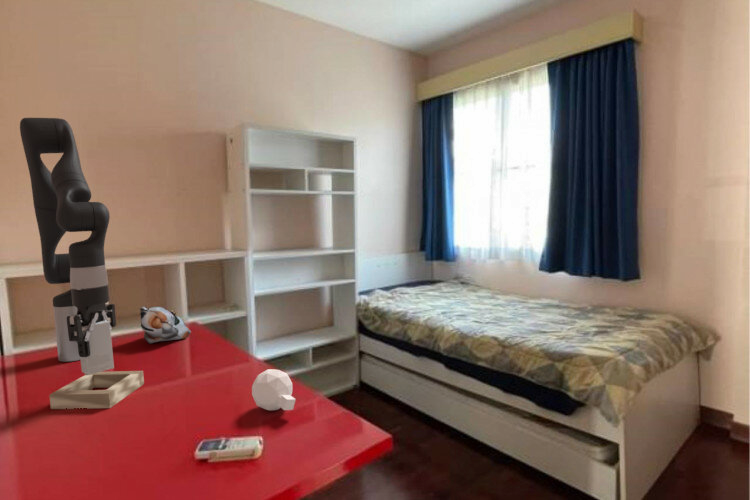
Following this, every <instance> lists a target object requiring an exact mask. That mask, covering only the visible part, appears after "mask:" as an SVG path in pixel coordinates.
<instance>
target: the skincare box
mask: <svg viewBox="0 0 750 500" xmlns="http://www.w3.org/2000/svg"><path fill="white" fill-rule="evenodd" d="M87 327H88V326H83V325H82V329H83V328H87ZM82 334H83V336H84V334H85V331H82ZM111 334H112V333H111V331H110V323H109V321H100V322H98V323H95V326H94V329H93V331H92V332H91V333H90V336H89V339H88V341H89V345H90V356H88V357H80V360H79V361H80V367H81V368H80V369H81V372H82V374H84V375H91V374H94V373H98V372H106V371H108V370H112V369H115V366H114V365H115V364H114V363H115V362H114V356H113V355H114V354H113V345H112V342H113V341H112V336H111Z"/></svg>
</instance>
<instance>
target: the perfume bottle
mask: <svg viewBox="0 0 750 500" xmlns="http://www.w3.org/2000/svg"><path fill="white" fill-rule="evenodd" d="M293 385H294V384H293V382H292V380H291V378H290V376H289V374H288V373H286V372H284V371H282V370H280V369H274V368H272V369H271V368H270V369H269V368H268V369H266V370H264V371H262V372H261V373H259V374H257V376H256V378H255V380H254V382H253V383H252V386H251V395H252V396H251V397H252V398H253V400H254V403H255V404H256V406H257V407H259V408H261V409H264V410H267V411H278V410H279V409H282V410H283V411H292V410H294V407H295V404H296V401H297V400H296V398H295V397H294V396H292V394H293Z"/></svg>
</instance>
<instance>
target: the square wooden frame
mask: <svg viewBox="0 0 750 500" xmlns="http://www.w3.org/2000/svg"><path fill="white" fill-rule="evenodd" d="M144 384H145V378H144V370H124V371H123V370H121V371H120V370H119V371H115V370H114V371H102V372H98V373H94V374H91V375H86V374H84V375H83V376H81V377H79V378H77V379H76V380H73V381H71V382H69V383H68V384H66V385H65V386H63V387H61V388H59V389H57V390H55V391H53V392H51V393H50V394H49V403H50V404H49V406H50V410H76V409H77V408H79V410H80V408H82V409H83V408H87V409H112V407H114V406H115V405H117V404H118V403H120V402H121V401H122V400H124V399H125V398H126V397H128V396H129V395H131V394H132V393H133V392H135V391H136V390H138V389H139V388H141V387H142V386H143V385H144ZM97 388H99V389H97ZM100 388H101V389H100ZM102 388H103V389H102ZM104 388H107V389H104ZM93 389H95V390H93ZM96 389H97V390H96ZM66 408H67V409H66ZM74 408H76V409H74Z"/></svg>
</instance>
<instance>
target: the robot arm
mask: <svg viewBox="0 0 750 500" xmlns="http://www.w3.org/2000/svg"><path fill="white" fill-rule="evenodd" d="M19 131H20V138H21V143H22V146H23V151H24V155H25V160H26V164H27V167H28V171H29V172H28V173H29V177H30V184H31V193H32V194H31V195H32V200H33V209H34V215H35V217H36V218H35V219H36V223H37V228H38V232H39V237H40V247H41V248H40V249H41V259H42V269H43V275H44V279H45V281H46V282H47V283H48V284H49V285H50V284H51V285H60V284H68V283H69V284H70V289H68V290H67V291H65V292H62V293H60V294H57V295H55V296H53V298H52V306H53V307H52V309H53V316H54V317H53V318H54V328H55V329H54V330H55V339H56V346H57V358H58V361H59V362H64V363H65V362H75V361H81V360H80V357H88V356H90V345H89V341H88V339H89V336H90V333H91V332H92V331H93V329H94V326H95V323H98V322H100V321H109V323H110V332H112V330H113V328H114V327H115V328H116V326H117V319H116V305H115V304H114V303H109V302H110V291H109V278H108V272H107V267H106V261H105V240H106V236H107V232H108V231H107V230H108V227H109V223H110V218H111V217H110V211H109V209H108V208H107V206H106V205H105V204H104V203H103V202H99V201H90V200H92V192H91V189H90V187H89V184H88V181H87V179H86V178H85V176H84V172H83V170H82V166H81V165H82V164H81V160H80V155H79V152H78V151H79V149H78V147H77V146H78V145H77V143H76V139H75V135H74V133H73V129H72V127H71V125H70V123H69V122H68V121H67V120H65V119H63V118H57V117H24V118H22V119H21V120H20V123H19ZM42 154H62V155H61V157H60V159H59V160H58V161H57V162H56V164H55V165H54V167H53V168H52V171H50V170H49V169H48V167H47V165H46V164H45V163H44V162H43V160H42V157H41V155H42ZM66 232H68V233H69V232H70V233H79V232H82V233H83V232H91V234H90V235H89V237H88V238H86V239H84V240H80V241H76V242H74V243H70V245H69V247H68V253H56V251H57V247H58V245H59V243H60V241H61V240H62V238H63V237H64V235H65V234H66ZM82 325H83V326H88V327H87V328H83V329H82ZM82 331H85V334H84V336H83V334H82Z"/></svg>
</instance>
